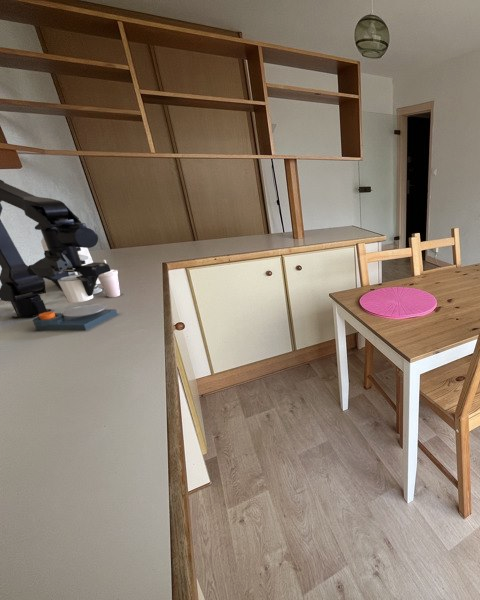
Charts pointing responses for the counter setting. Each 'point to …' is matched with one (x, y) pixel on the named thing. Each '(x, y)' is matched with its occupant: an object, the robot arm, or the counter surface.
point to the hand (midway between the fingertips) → (79, 295)
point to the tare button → (46, 315)
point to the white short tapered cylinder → (74, 289)
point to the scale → (74, 321)
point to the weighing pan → (84, 310)
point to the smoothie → (110, 282)
